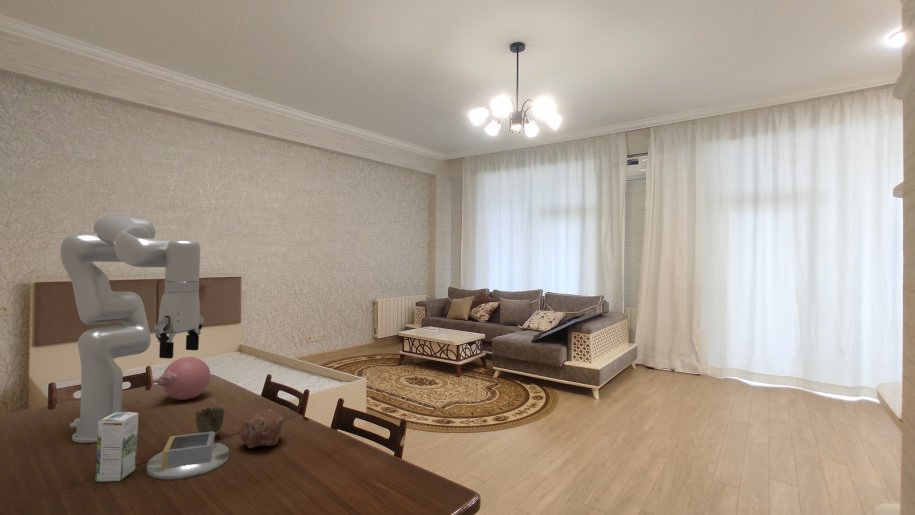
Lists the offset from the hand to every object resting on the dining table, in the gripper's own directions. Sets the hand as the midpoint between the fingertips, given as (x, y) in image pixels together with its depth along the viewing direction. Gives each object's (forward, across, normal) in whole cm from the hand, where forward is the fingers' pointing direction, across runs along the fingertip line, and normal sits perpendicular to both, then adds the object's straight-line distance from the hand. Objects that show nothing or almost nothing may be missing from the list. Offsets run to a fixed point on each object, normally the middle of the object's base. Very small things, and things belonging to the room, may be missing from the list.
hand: (179, 353), depth 114 cm
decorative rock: (+28, -12, +16) cm, 35 cm away
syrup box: (+28, +9, -9) cm, 31 cm away
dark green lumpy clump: (+28, -15, -1) cm, 32 cm away
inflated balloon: (+29, -45, -31) cm, 62 cm away
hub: (+28, 0, +4) cm, 28 cm away
